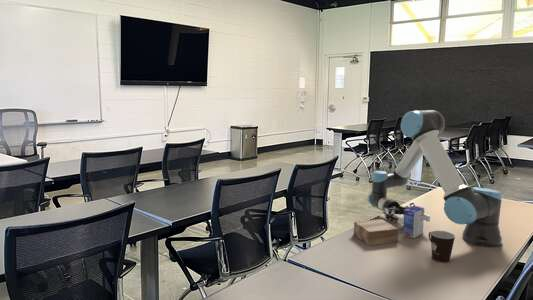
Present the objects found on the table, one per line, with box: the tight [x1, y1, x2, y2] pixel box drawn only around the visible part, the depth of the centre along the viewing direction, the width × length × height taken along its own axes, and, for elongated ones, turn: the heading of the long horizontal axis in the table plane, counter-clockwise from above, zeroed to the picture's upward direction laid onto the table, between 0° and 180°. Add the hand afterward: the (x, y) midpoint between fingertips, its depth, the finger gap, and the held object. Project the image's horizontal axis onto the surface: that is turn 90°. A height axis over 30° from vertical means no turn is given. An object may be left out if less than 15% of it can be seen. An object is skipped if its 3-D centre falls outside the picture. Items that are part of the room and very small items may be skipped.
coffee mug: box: [428, 230, 456, 264], centre depth 155 cm, size 12×9×10 cm
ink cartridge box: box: [402, 202, 425, 239], centre depth 179 cm, size 10×6×14 cm, turn 134°
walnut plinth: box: [353, 218, 399, 246], centre depth 175 cm, size 13×14×6 cm
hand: (416, 220), depth 177 cm, fingers open, 13 cm apart
